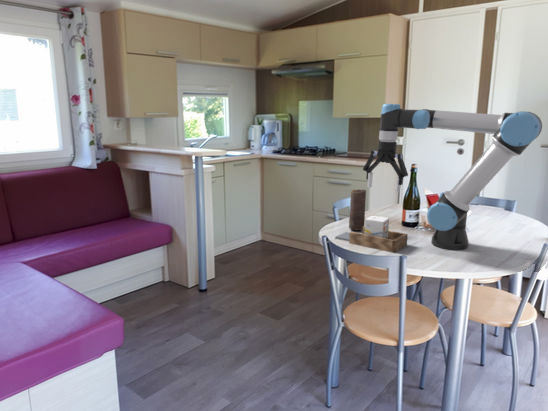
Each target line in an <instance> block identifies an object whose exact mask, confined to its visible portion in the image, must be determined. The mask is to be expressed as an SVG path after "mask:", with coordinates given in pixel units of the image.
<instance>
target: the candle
mask: <svg viewBox="0 0 548 411" xmlns="http://www.w3.org/2000/svg"><path fill="white" fill-rule="evenodd" d="M366 196H367V190H366V189H352V190H351V191H350V201H349V202H350V206H349V218H348V220H349V221H348V228H349V229H350V230H351V231H363V226H365V219H366V198H367V197H366Z"/></svg>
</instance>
